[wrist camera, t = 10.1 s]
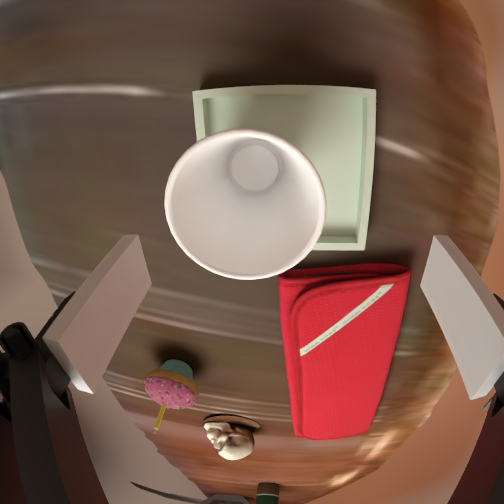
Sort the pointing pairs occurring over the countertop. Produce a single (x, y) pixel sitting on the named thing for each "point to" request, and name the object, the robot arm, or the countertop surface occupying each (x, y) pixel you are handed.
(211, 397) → the countertop surface
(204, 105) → the tray
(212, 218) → the cup
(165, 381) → the cupcake
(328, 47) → the countertop surface
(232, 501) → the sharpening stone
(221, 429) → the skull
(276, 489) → the beer bottle
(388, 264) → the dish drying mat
